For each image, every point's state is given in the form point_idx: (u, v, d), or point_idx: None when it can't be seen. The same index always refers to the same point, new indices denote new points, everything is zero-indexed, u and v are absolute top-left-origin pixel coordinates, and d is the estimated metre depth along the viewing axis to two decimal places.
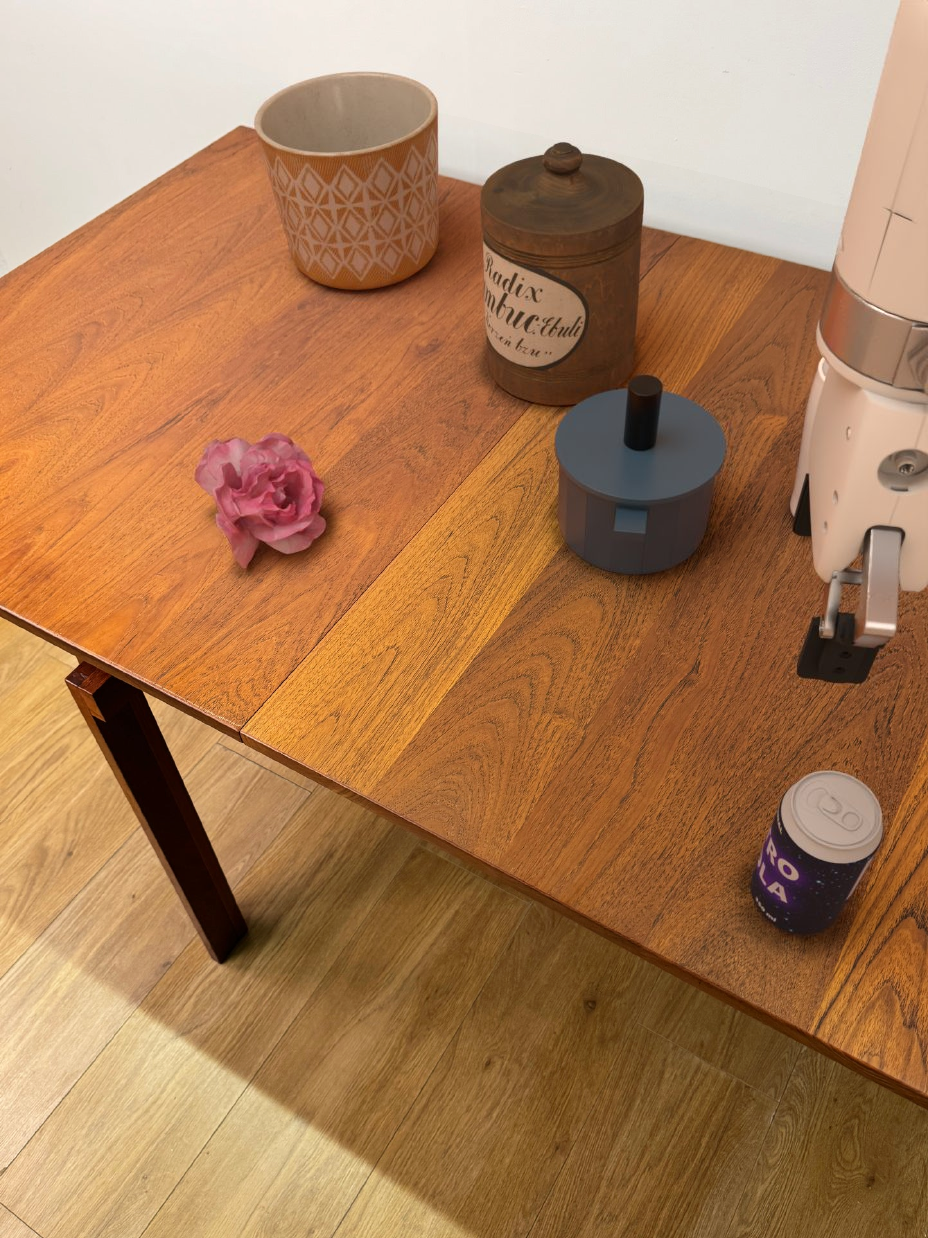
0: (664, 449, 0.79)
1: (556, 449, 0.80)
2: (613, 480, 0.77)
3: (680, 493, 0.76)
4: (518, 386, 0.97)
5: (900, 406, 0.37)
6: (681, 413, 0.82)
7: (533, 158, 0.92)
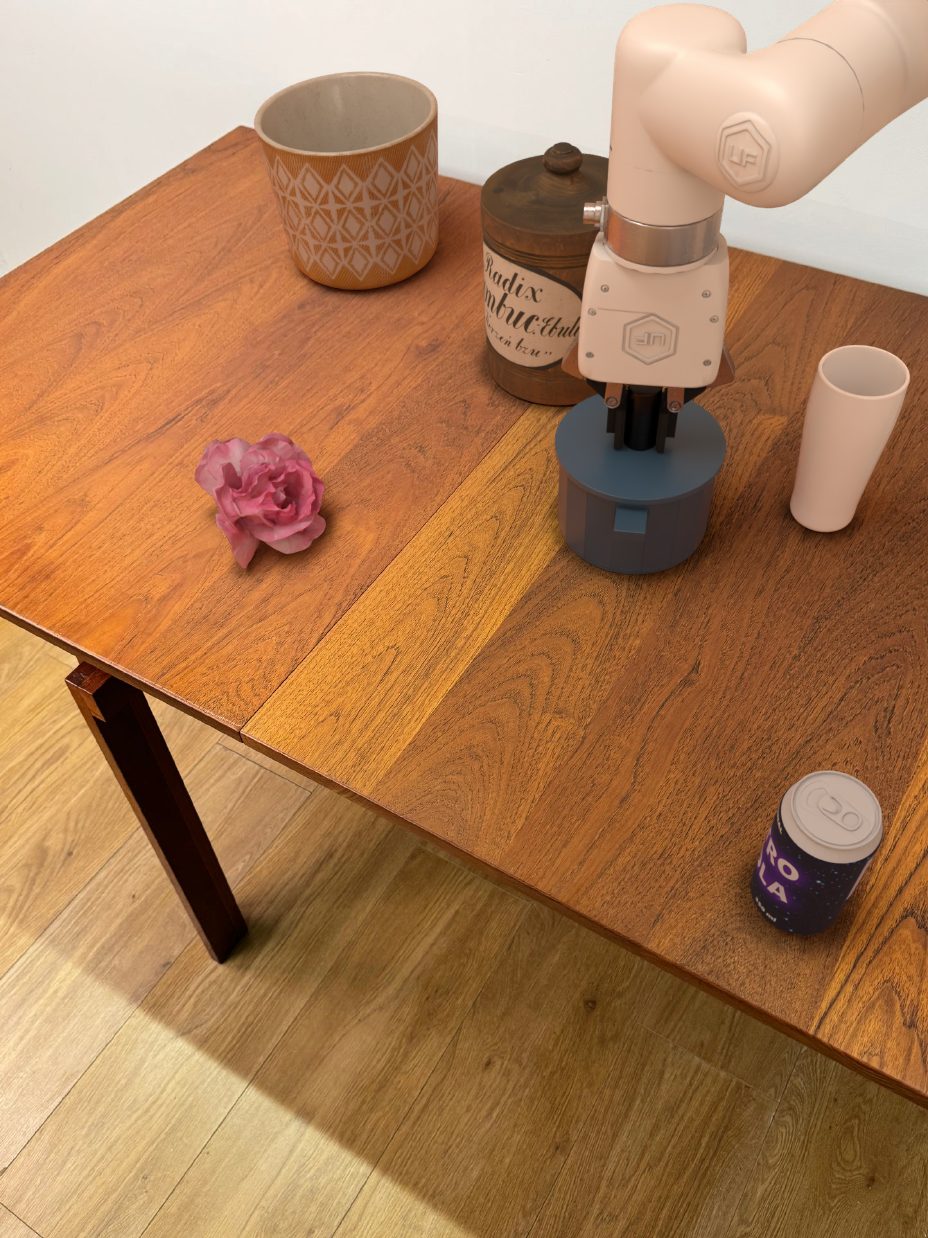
0: (664, 449, 0.79)
1: (556, 449, 0.80)
2: (613, 480, 0.77)
3: (680, 493, 0.76)
4: (518, 386, 0.97)
5: (601, 233, 0.68)
6: (681, 413, 0.82)
7: (533, 158, 0.92)
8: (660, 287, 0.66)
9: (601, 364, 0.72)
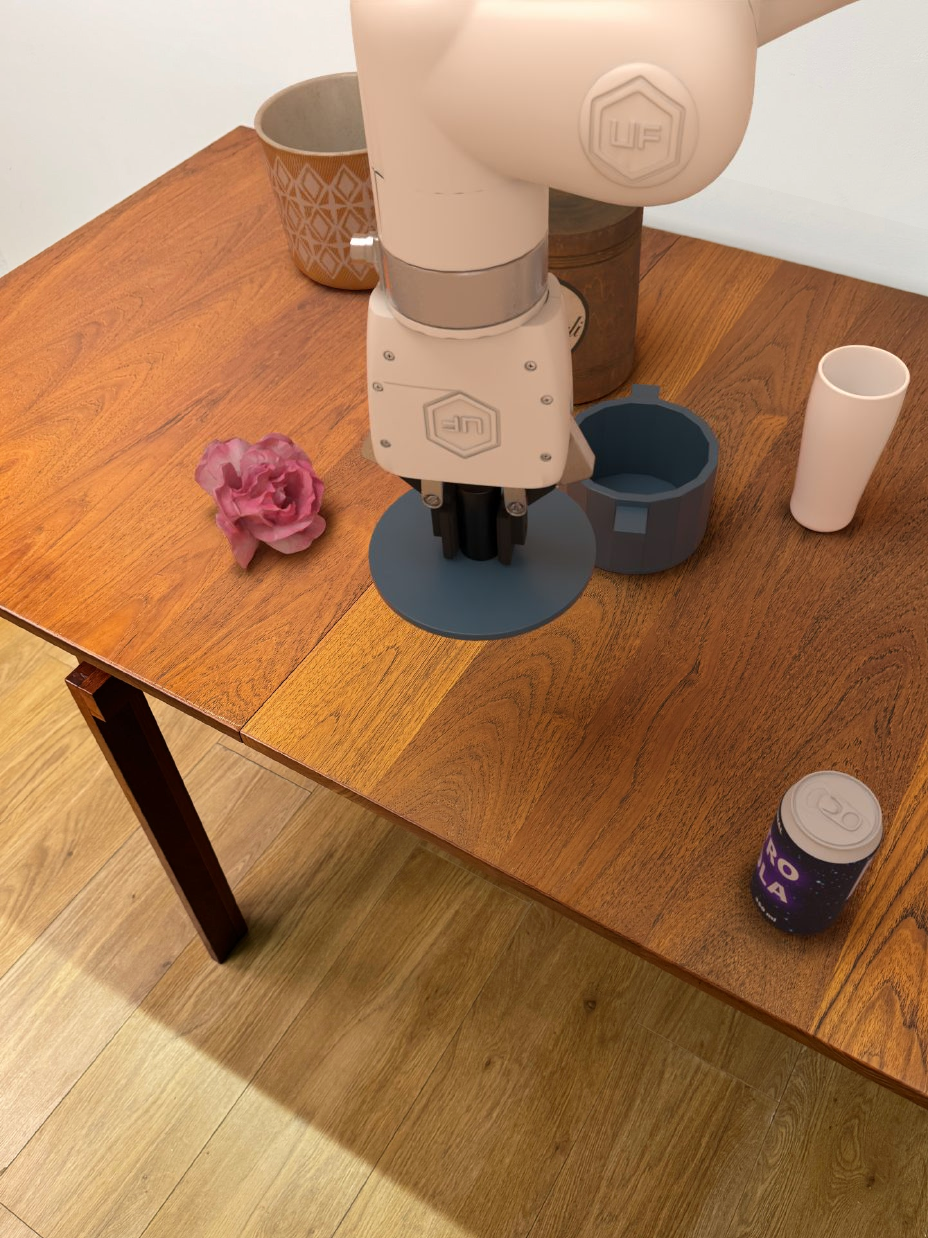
0: (512, 559, 0.59)
1: (369, 557, 0.59)
2: (437, 604, 0.57)
3: (524, 626, 0.55)
4: None
5: None
6: (542, 506, 0.61)
7: None
8: (464, 356, 0.46)
9: (402, 456, 0.51)
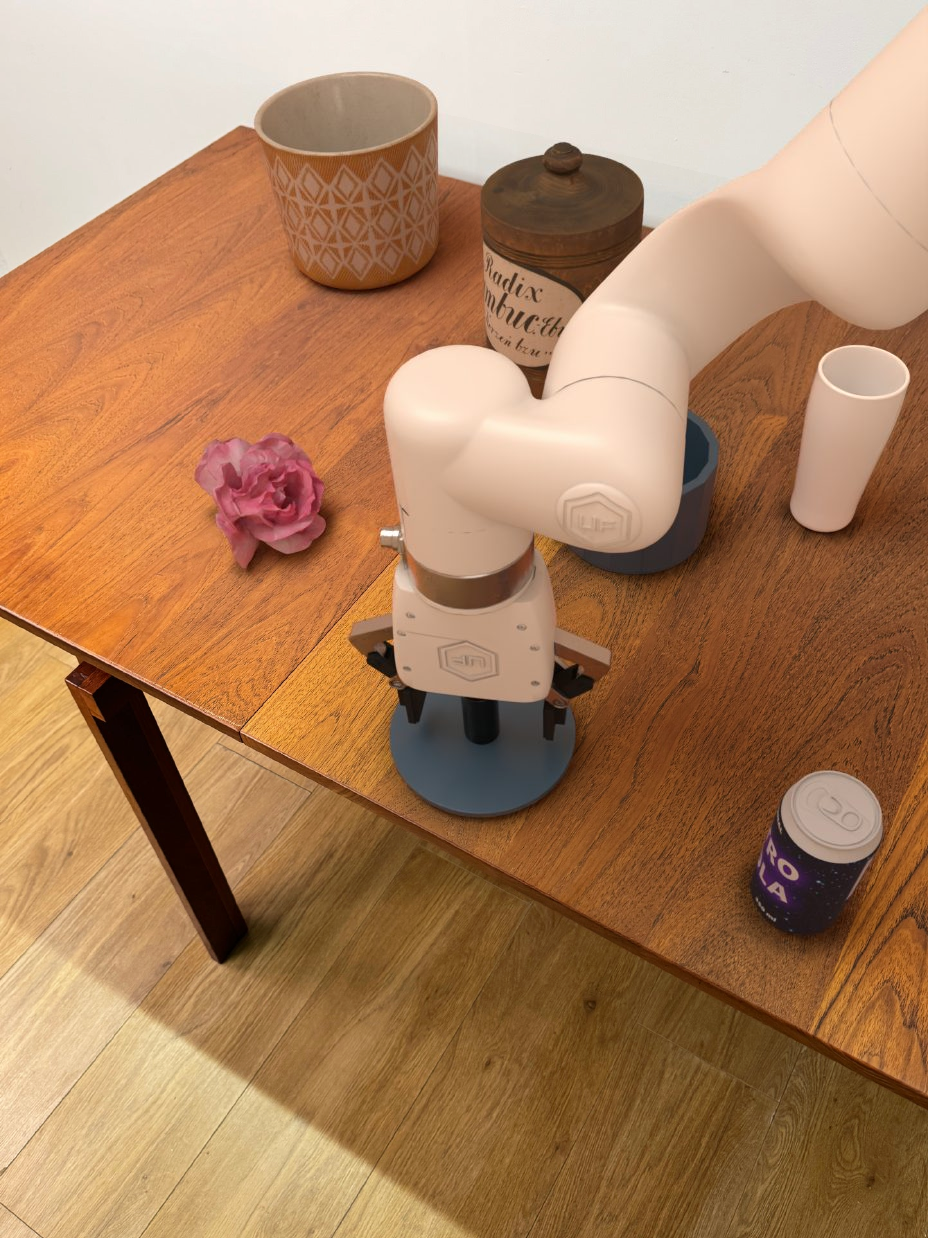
0: (507, 743, 0.72)
1: (390, 740, 0.73)
2: (446, 785, 0.70)
3: (517, 806, 0.69)
4: None
5: None
6: None
7: (533, 158, 0.92)
8: (469, 620, 0.58)
9: (421, 677, 0.64)
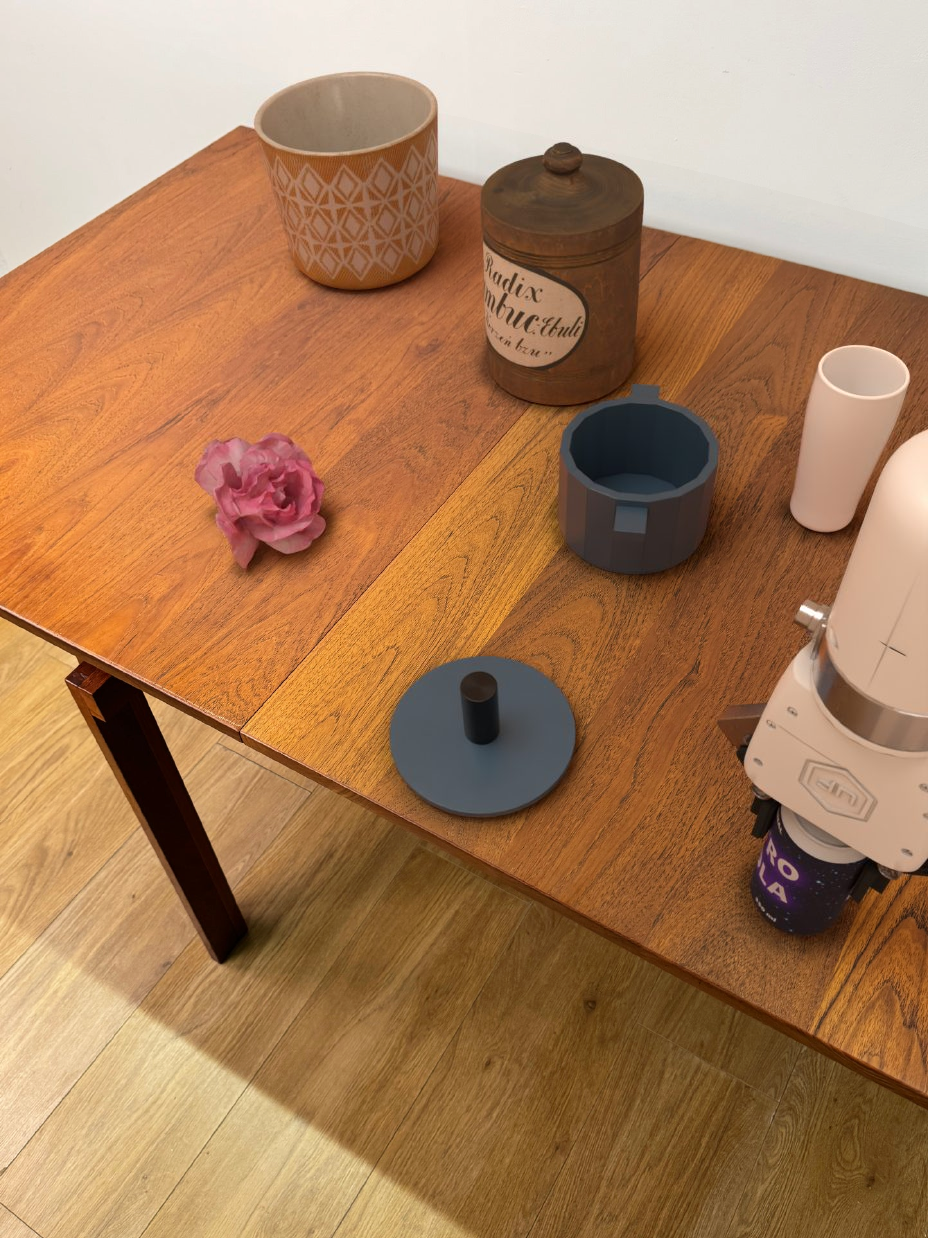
0: (507, 743, 0.72)
1: (390, 740, 0.73)
2: (446, 785, 0.70)
3: (517, 806, 0.69)
4: (518, 386, 0.97)
5: None
6: (531, 693, 0.75)
7: (533, 158, 0.92)
8: (863, 750, 0.46)
9: (769, 778, 0.53)
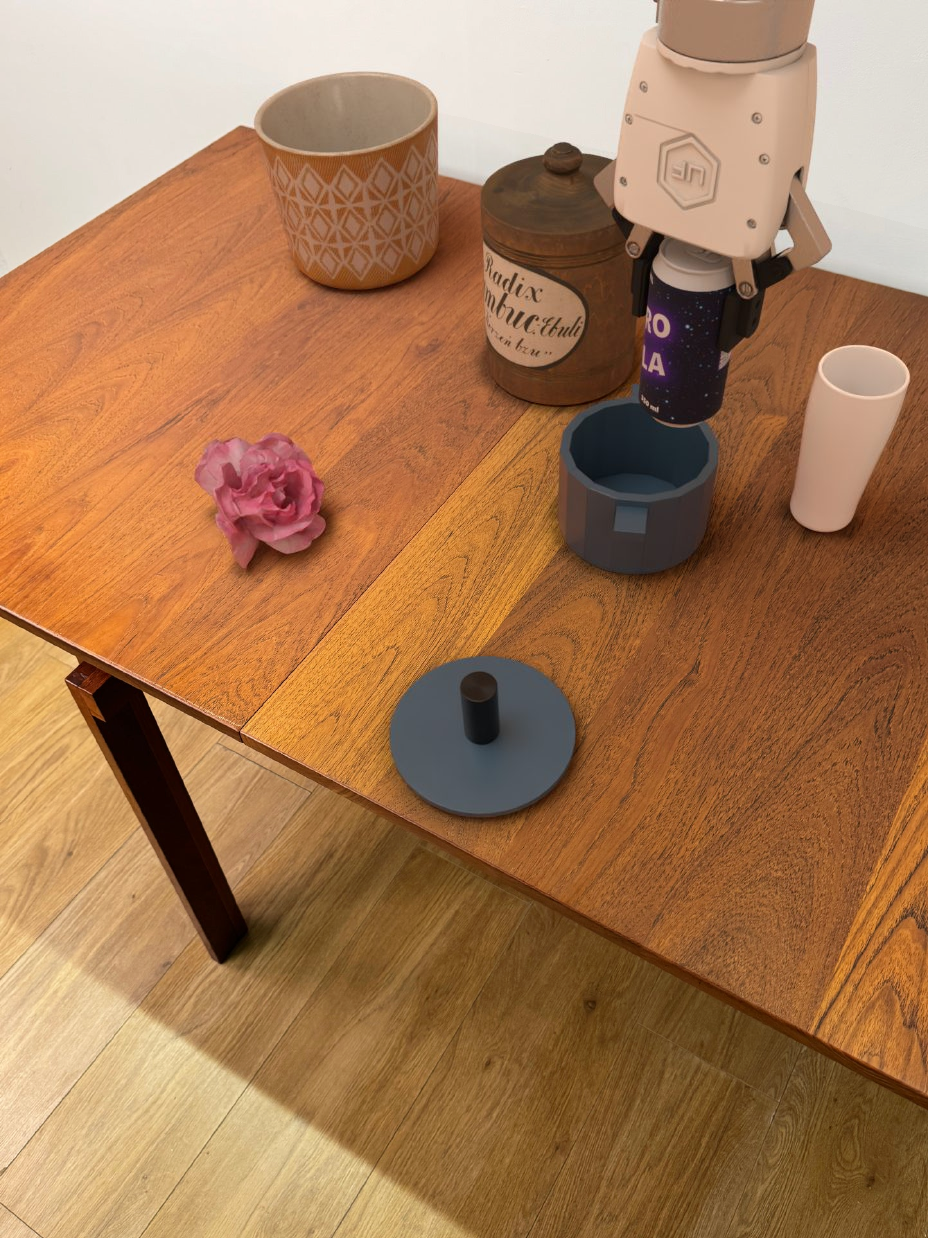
0: (507, 743, 0.72)
1: (390, 740, 0.73)
2: (446, 785, 0.70)
3: (517, 806, 0.69)
4: (518, 386, 0.97)
5: None
6: (531, 693, 0.75)
7: (533, 158, 0.92)
8: (702, 96, 0.51)
9: (634, 197, 0.57)
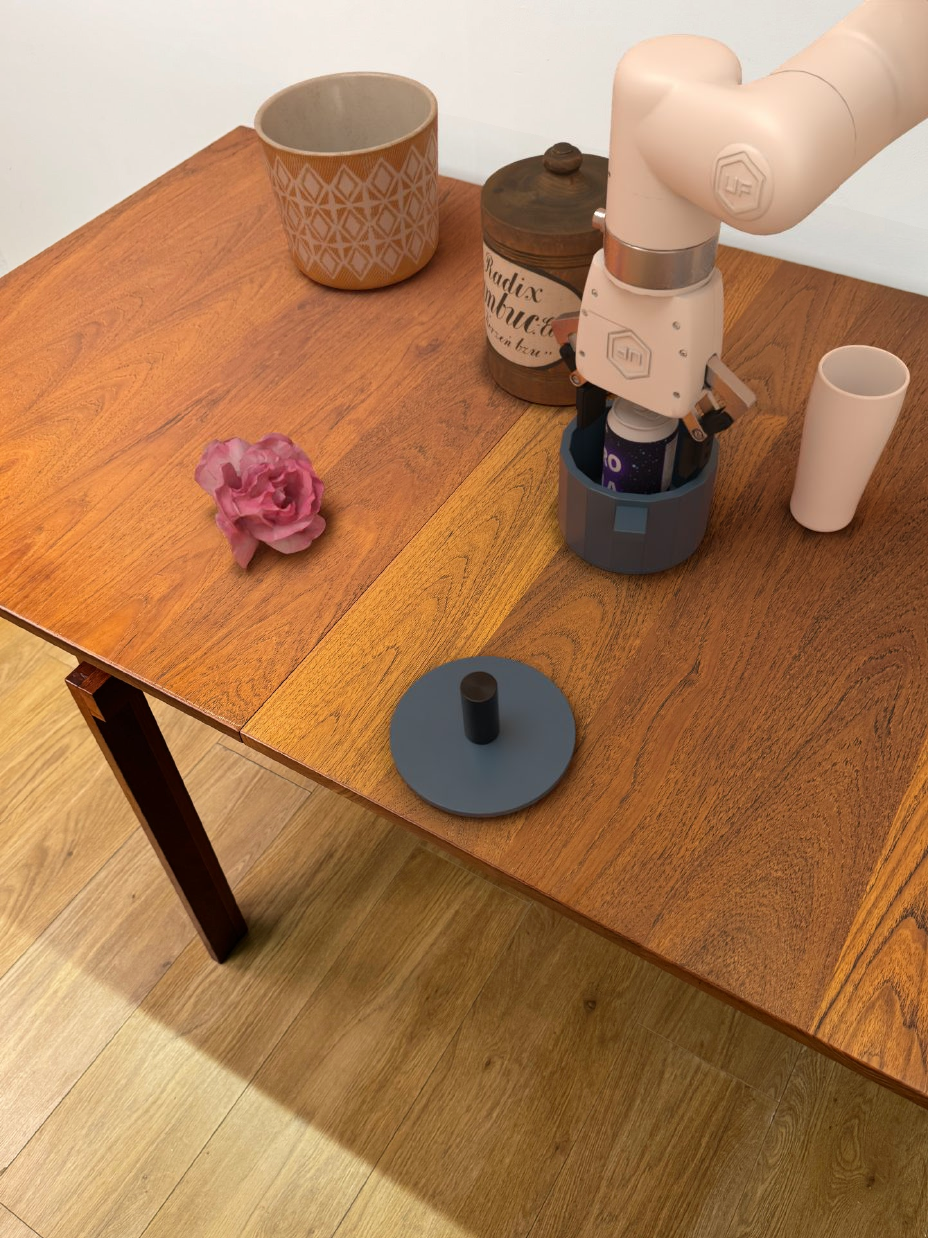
0: (507, 743, 0.72)
1: (390, 740, 0.73)
2: (446, 785, 0.70)
3: (517, 806, 0.69)
4: (518, 386, 0.97)
5: None
6: (531, 693, 0.75)
7: (533, 158, 0.92)
8: (637, 306, 0.68)
9: (590, 366, 0.74)
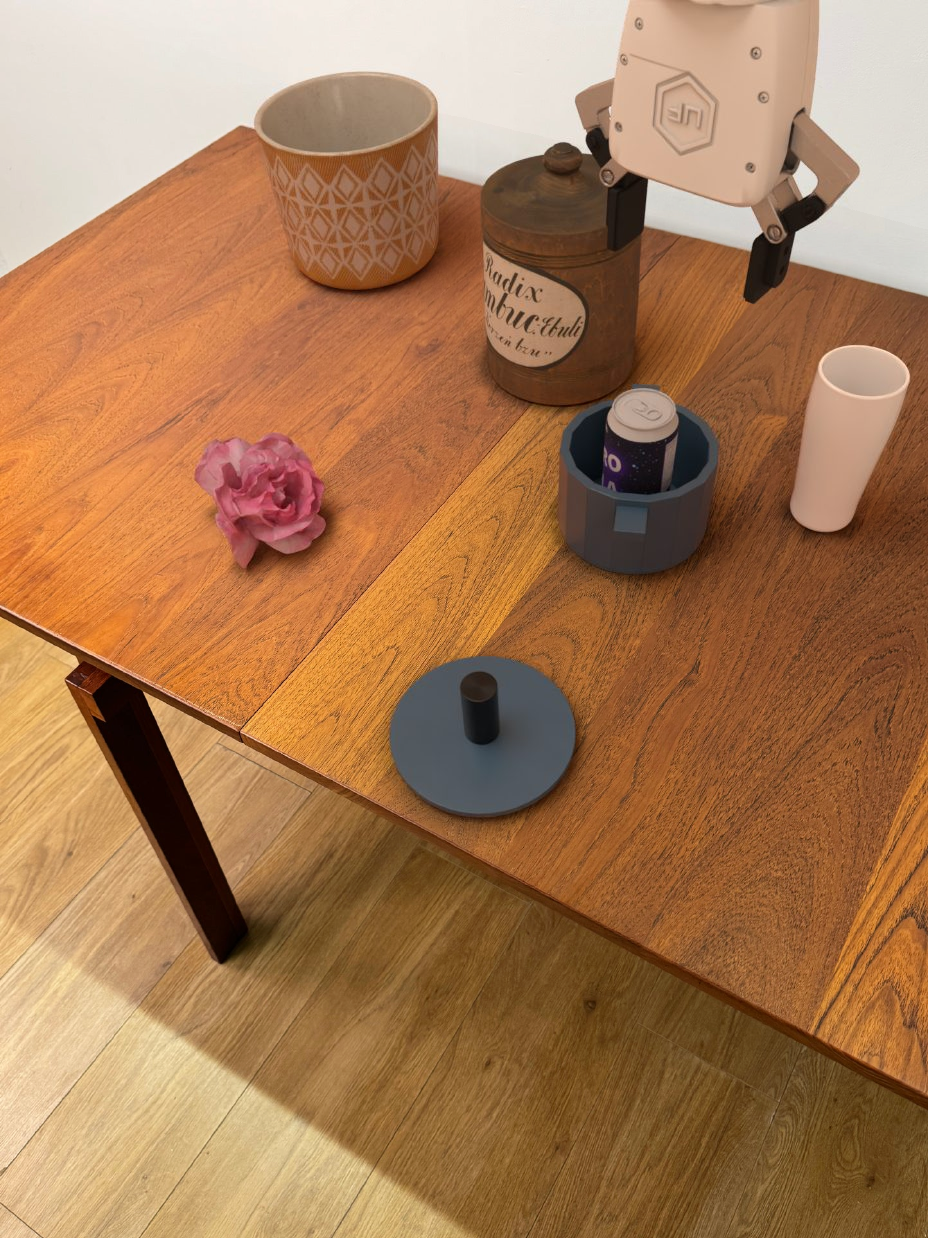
0: (507, 743, 0.72)
1: (390, 740, 0.73)
2: (446, 785, 0.70)
3: (517, 806, 0.69)
4: (518, 386, 0.97)
5: None
6: (531, 693, 0.75)
7: (533, 158, 0.92)
8: (699, 31, 0.49)
9: (629, 143, 0.55)
